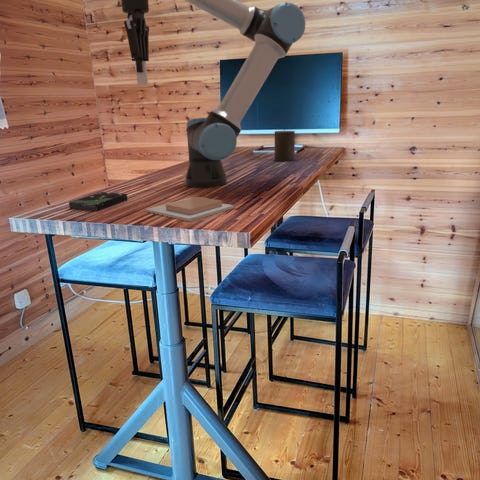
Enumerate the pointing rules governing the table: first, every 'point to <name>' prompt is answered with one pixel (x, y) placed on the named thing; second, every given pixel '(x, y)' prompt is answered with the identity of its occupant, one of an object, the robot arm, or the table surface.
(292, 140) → the pillar candle
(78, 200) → the disk drive
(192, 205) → the tile
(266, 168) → the table surface
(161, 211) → the mat
